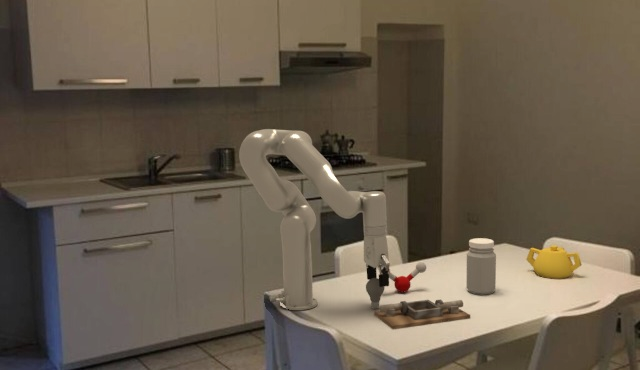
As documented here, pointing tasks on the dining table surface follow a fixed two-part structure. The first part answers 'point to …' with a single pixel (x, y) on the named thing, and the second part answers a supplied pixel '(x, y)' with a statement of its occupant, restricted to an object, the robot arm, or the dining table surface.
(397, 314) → the shaft bench
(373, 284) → the light bulb
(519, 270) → the dining table surface
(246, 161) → the robot arm
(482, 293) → the jar
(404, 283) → the molecular model
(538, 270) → the yellow sugar bowl
